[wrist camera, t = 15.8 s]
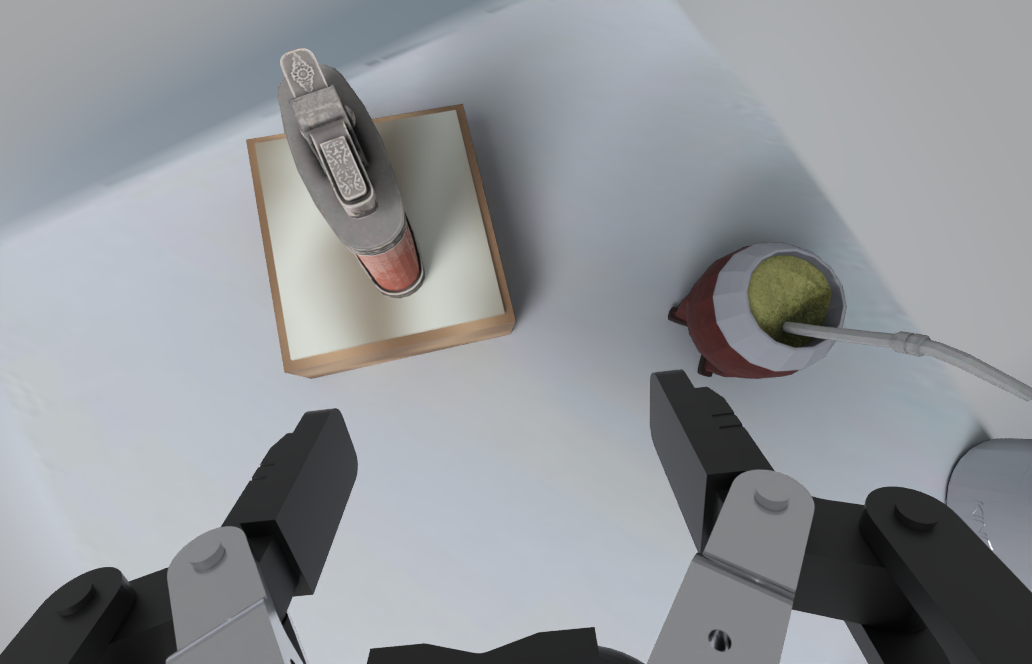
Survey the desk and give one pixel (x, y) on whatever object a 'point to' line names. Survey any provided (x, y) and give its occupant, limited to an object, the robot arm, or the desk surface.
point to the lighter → (348, 172)
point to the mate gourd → (790, 319)
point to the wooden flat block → (343, 282)
